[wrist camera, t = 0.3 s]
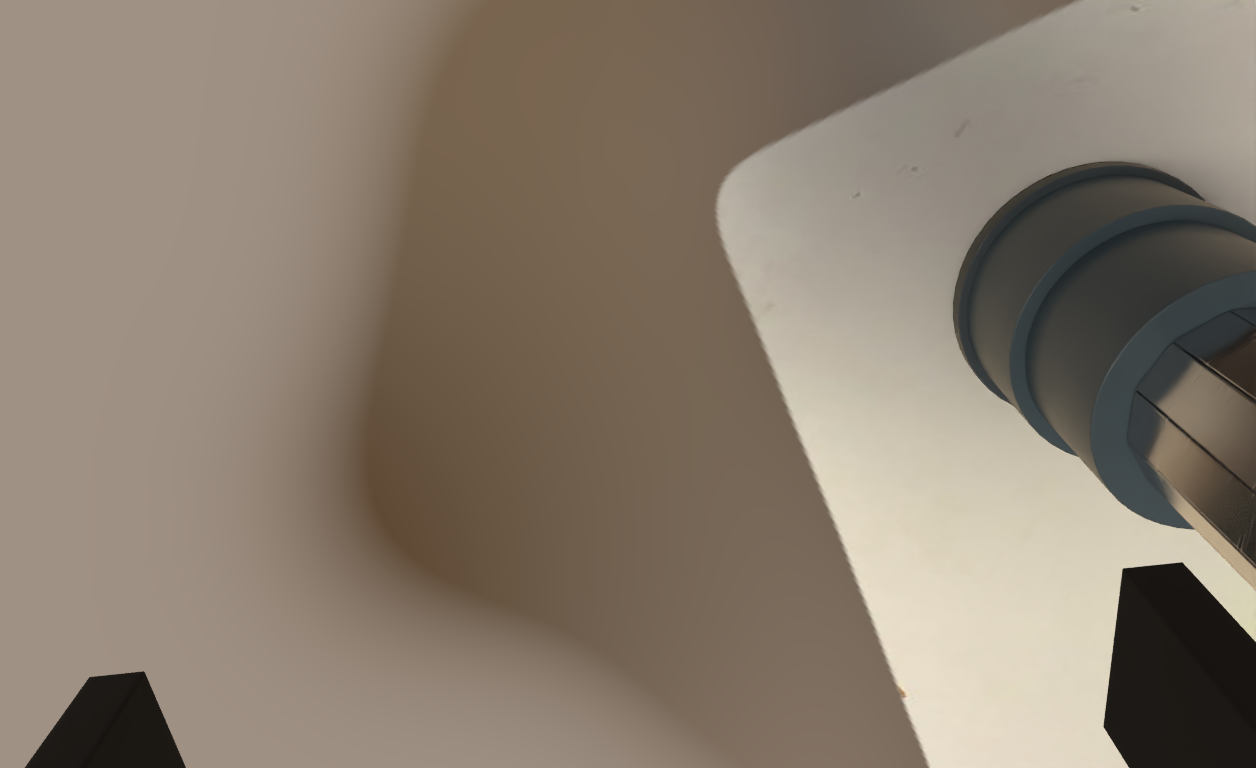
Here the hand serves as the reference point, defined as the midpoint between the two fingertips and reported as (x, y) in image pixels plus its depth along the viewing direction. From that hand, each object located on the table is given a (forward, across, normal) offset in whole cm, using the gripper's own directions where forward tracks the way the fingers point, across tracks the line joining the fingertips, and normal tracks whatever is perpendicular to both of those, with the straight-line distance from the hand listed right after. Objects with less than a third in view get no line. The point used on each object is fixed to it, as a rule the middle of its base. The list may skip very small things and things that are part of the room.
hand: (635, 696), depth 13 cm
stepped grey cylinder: (+31, +20, -8) cm, 38 cm away
